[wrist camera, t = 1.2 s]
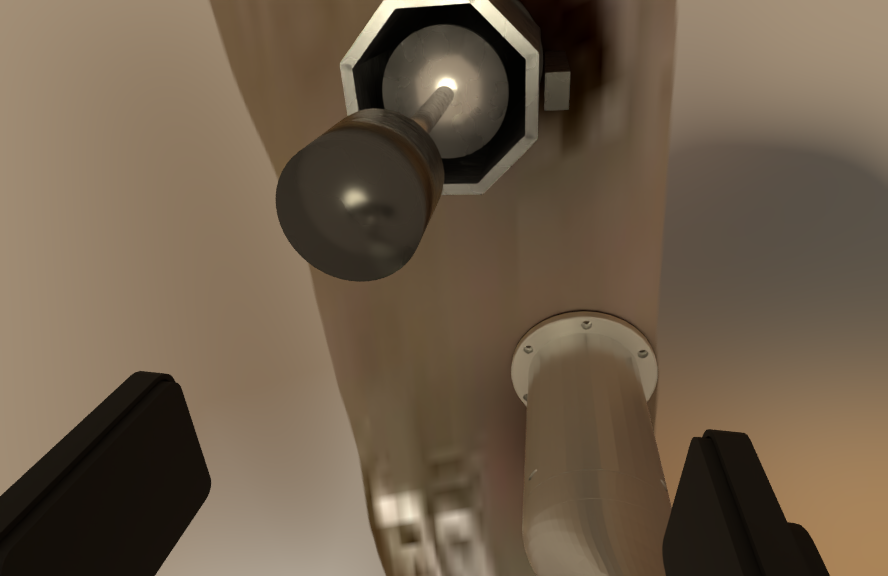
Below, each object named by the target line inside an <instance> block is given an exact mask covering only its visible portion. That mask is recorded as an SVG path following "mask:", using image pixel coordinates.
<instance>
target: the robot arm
mask: <svg viewBox="0 0 888 576" xmlns="http://www.w3.org/2000/svg"><path fill="white" fill-rule="evenodd" d="M511 379H512V383H513V387H514V389H515V391H516V393H517V395H518V397H519V398H520V400H521V401H522V402H523V403H524V405H525V406H526V407H527V418H526V442H525V467H524V492H523V522H522V532H523V542H524V547H525V551H526V554H527V557H528V559H529V562H530V565H531V567H532V569H533V570H534V572H535V574H536V576H830V575H829V573H828V571H827V569H826V566H825V564H824V562H823V560H822V558H821V556H820V554H819V552H818V550H817V548H816V546H815V544H814V542H813V540H812V538H811V537H810V535H809V533H808V532H807V531H806V530H805V529H804V528H803V527H802V526H801V525H799V524H795V523H789V522H787V521H786V518H785V516H784V514H783V512H782V510H781V507H780V505H779V503H778V501H777V498H776V496H775V494H774V492H773V490H772V487H771V485H770V483H769V480H768V478H767V476H766V474H765V472H764V469H763V467H762V465H761V463H760V460H759V458H758V457H757V454H756V452H755V449H754V447H753V445H752V442H751V440H750V439H749V437H748V435H746V434H745V433H740V432H730V431H720V430H711V429H709V430H706V431H705V432H704V434H703V437H702V438H701V437H693V438H692V440H691V443H690V447H689V450H688V454H687V457H686V461H685V464H684V468H683V471H682V475H681V478H680V482H679V485H678V489H677V493H676V496H675V499H674V503H673V507H671V503H670V499H669V495H668V490H667V487H666V482H665V478H664V474H663V469H662V466H661V461H660V457H659V452H658V448H657V444H656V440H655V436H654V431H653V427H652V423H651V419H650V414H649V410H648V406H647V402H648V400H649V399H650V397H651V395H652V394H653V392H654V390H655V387H656V384H657V380H658V366H657V362H656V357H655V355H654V352H653V349H652V347H651V345H650V344H649V342H648V340H647V339H646V337H645V336H644V335H643V334H642V333H641V332H640V331H638V330H637V329H636V328H635V327H634V326H632V325H630V324H629V323H627V322H626V321H624V320H621V319H619V318H617V317H614V316H612V315H607V314H603V313H599V312H586V311H580V312H569V313H565V314H561V315H557V316H553V317H551V318H549V319H547V320H544V321H542V322H540V323H539V324H537V325H536V326H534V327H533V328H531V329H530V330H529V331H528V332H527V333H526V334H525V335H524V336H523V337H522V339H521V340H520V342H519V343H518V345H517V346H516V349H515V352H514V354H513V358H512V365H511ZM210 488H211V478H210V475H209V472H208V469H207V466H206V463H205V459H204V456H203V453H202V450H201V447H200V444H199V441H198V438H197V435H196V432H195V429H194V426H193V422H192V419H191V416H190V413H189V410H188V407H187V404H186V401H185V398H184V395H183V392H182V389H181V386H180V385H179V384H178V383H176V382H175V381H174V379H173V377H172V376H171V375H169V374H164V373H154V372H144V371H139V372H135V373H134V374H132V375H131V376H130V377H129V378H128V379H127V380H125V382H123V383H122V384H121V385H120V386H119V387H118V388H117V389H116V390H115V391H114V392H113V393H111V394H110V395H109V396H108V397H107V398H106V399H105V400H104V401H103V402H102V403H101V404H100V405H98V407H96V408H95V409H94V410H93V411H92V412H91V413H90V414H89V415H88V416H87V417H86V418H84V419H83V421H81V422H80V423H79V424H78V425H77V426H76V427H75V428H74V429H73V430H71V431H70V432H69V433H68V434H67V435H66V436H65V437H64V438H63V439H62V440H61V441H60V442H59V443H57V444H56V445H55V446H54V447H53V448H52V449H51V450H50V451H49V452H48V453H47V454H46V455H45V456H43V457H42V458H41V459H40V460H39V461H38V462H37V463H36V464H35V465H34V466H33V467H31V468H30V469H29V470H28V471H27V472H26V473H25V474H24V475H23V476H22V477H21V478H20V479H19V480H17V482H15V483H14V484H13V485H12V486H11V487H10V488H9V489H8V490H7V491H6V492H4V493H3V494H2V495H1V496H0V576H155V575H156V573H157V571H158V570H159V569H160V567H161V566H162V564H163V562H164V561H165V560H166V558H167V557H168V555H169V554H170V552H171V551H172V549H173V548H174V546H175V545H176V543H177V542H178V540H179V539H180V537H181V536H182V534H183V533H184V531H185V530H186V528H187V527H188V525H189V524H190V522H191V521H192V519H193V518H194V516H195V515H196V513H197V512H198V510H199V509H200V508H201V506H202V504H203V503H204V502H205V500H206V498H207V497H208V494H209V492H210Z"/></svg>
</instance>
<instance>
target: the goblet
mask: <svg viewBox="0 0 888 576" xmlns="http://www.w3.org/2000/svg"><path fill="white" fill-rule="evenodd" d="M382 93H383V102H384V107H385V109H377V108H373V109H365V110H361V111H357V112H355V113H353V114H350V115H349V116H347V117H346V118H344V119H343V120H341V121H340V122H338V123H337V124H336V125H334V126H333V127H332V128H330V129H329V130H328V131H326V132H325V133H324V134H322V135H321V136H319V137H318V138H317V139H315V140H314V141H313V142H311V143H310V144H309V145H307V146H306V147H305V148H303V149H302V150H300V151H299V152H298V153H297V154H296V155H294V156H293V157H292V158H291V160H290V161H289V162H288V163H287V164H286V166H285V168H284V169H283V171H282V173H281V175H280V178H279V180H278V185H277V189H276V209H277V215H278V218H279V222H280V225H281V227H282V229H283V232H284V234H285V236H286V237H287V239H288V240H289V242H290V243H291V245H292V246H293V248H294V249H295V250H296V251H297V252H298V253H299V254H300V255H301V256H302V257H303V258H304V259H305V260H306V261H307V262H308V263H310V264H311V265H313V266H314V267H315V268H317V269H319V270H321V271H322V272H324V273H326V274H329V275H331V276H333V277H337V278H340V279H344V280H349V281H359V282H360V281H372V280H378V279H381V278H384V277H387V276H389V275H391V274H393V273H395V272H396V271H398V270H399V269H401V268H402V267H403V266H404V265H405V264H406V263H407V262H408V261H409V260H410V259H411V257H412V256H413V254H414V253H415V251H416V249H417V247H418V245H419V242H420V240H421V238H422V236H423V234H424V232H425V229H426V227H427V225H428V223H429V221H430V219H431V216H432V214H433V212H434V210H435V208H436V206H437V203H438V201H439V199H440V196H441V194H442V190H443V185H444V168H443V162H442V159H441V158H458V157H462V156H465V155H468V154H471V153H473V152H475V151H477V150H479V149H480V148H481V147H483V146H484V145H485V144H486V143H488V142H489V141H490V140H491V139H492V137H493V136H494V135H495V134H496V132H497V131H498V129H499V128H500V126H501V124H502V122H503V119H504V117H505V114H506V110H507V106H508V101H509V81H508V76H507V72H506V69H505V66H504V64H503V62H502V59H501V57H500V56H499V54H498V53H497V51H496V50H495V48H494V47H493V46H492V45H491V44H490V43H489V42H488V41H487V40H486V39H485V38H484V37H483V36H481V35H480V34H478V33H477V32H475V31H473V30H471V29H469V28H466V27H463V26H460V25H455V24H436V25H431V26H428V27H425V28H423V29H420V30H418V31H416V32H414V33H413V34H411V35H410V36H408V37H407V38H406V39H405V40H403V41H402V42H401V43H400V44H399V46H398V47H397V48H396V49H395V51H394V52H393V54H392V55H391V57H390V59H389V61H388V63H387V66H386V69H385V72H384V77H383V86H382Z"/></svg>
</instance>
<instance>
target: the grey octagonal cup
mask: <svg viewBox="0 0 888 576" xmlns="http://www.w3.org/2000/svg"><path fill="white" fill-rule="evenodd" d="M436 24H455V25H460V26H463V27H466V28H469V29H471V30H473V31H475V32H477V33H478V34H480V35H481V36H483V37H484V38H485V39H486V40H487V41H488V42H489V43H490V44H491V45H492V46H493V47H494V48H495V50H496V51H497V53H498V54H499V56H500V57H501V59H502V62H503V64H504V66H505V69H506V72H507V76H508V81H509V101H508V106H507V110H506V114H505V117H504V119H503V122H502V124H501V126H500V128H499V129H498V131H497V132H496V134H495V135H494V136H493V137H492V139H491V140H490V141H489V142H488V143H486V144H485V145H484V146H483V147H481V148H480V149H479V150H477V151H475V152H473V153H471V154H468V155H465V156H462V157H458V158H441V159H442V162H443V168H444V185H443V190H442V194H441V195H482V193H483V194H484V193H485V192H486V191H487V190H488V189H489V188H490V187H491V186H492V185H493V184H494V183H495V182H496V181H497V180H498V179H499V178H500V177H501V176H502V175H503V174H504V173H505V172H506V171H507V170H508V169H509V168H510V167H511V166H512V165H513V164H514V163H515V162H516V161H517V160H518V159H519V158H520V157H521V156H522V155H523V154H524V153H525V152H526V151H527V150H528V149H529V148H530V147H531V146H532V145H533V144H534V143H535V142H536V141H537V139H538V118H539V94H540V81H541V77H542V70H543V49H542V43H541V29H540V27H539V26H538V25H537V24H536V23H535V22H534V20H533V18H532V16H531V15H530V13H529V12H528V10H527V9H526V8H525V7H524V5H523V4H522V3H521V2H520V1H519V0H384V1H383V2H382V4H381V5H380V7H379V8H378V9H377V11H376V12H375V14H374V15H373V17H372V18H371V19H370V21H369V22H368V24H367V25H366V27H365V28H364V30H363V31H362V32H361V34H360V35H359V37H358V38H357V40H356V41H355V42H354V44H353V45H352V47H351V48H350V50H349V51H348V53H347V54H346V55H345V57H344V58H343V60H342V61H341V63H340V70H341V76H342V83H343V89H344V95H345V102H346V108H347V114H348V116H349V115H350V114H353V113H355V112H357V111H361V110H365V109H373V108H377V109H385V107H384V102H383V93H382V86H383V77H384V72H385V69H386V66H387V63H388V61H389V59H390V57H391V55H392V54H393V52H394V51H395V49H396V48H397V47H398V46H399V44H400V43H401V42H402V41H403V40H405V39H406V38H407V37H408V36H410V35H411V34H413V33H414V32H416V31H418V30H420V29H423V28H425V27H428V26H431V25H436ZM569 90H570V68H569V64H568V60H567V57H566V53H565V51H549V52H545V76H544V111H549V110H569Z"/></svg>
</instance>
